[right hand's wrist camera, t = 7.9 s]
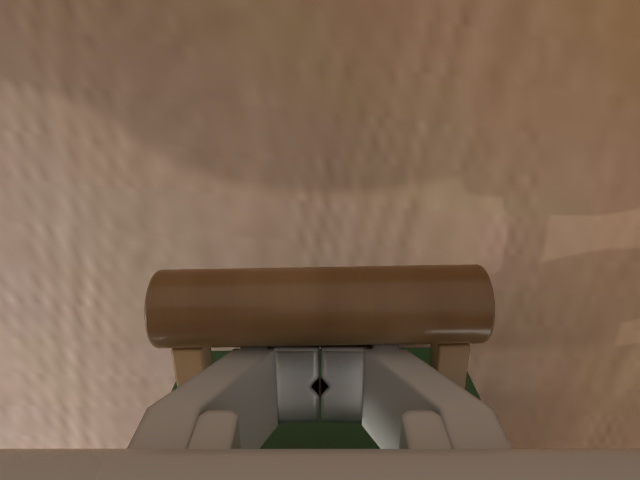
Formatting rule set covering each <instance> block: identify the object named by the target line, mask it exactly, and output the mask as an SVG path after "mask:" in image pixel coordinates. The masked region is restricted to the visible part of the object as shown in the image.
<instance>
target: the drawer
mask: <svg viewBox="0 0 640 480" xmlns="http://www.w3.org/2000/svg"><path fill="white" fill-rule="evenodd" d="M494 318H495V302H494V294H493V289H492V285H491V281H490V278H489V276H488V274H487V272H486V270H485V269H484V268H483V267H482V266H480V265H418V266H359V267H301V268H242V269H183V270H160V271H157V272H156V273H155V274H154V275H153V277H152V278H151V280H150V283H149V286H148V289H147V293H146V299H145V326H146V332H147V335H148V338H149V341H150V342H151V344H152V345H153V346H154V347H156V348H172V350H171V352H172V358H173V364H174V370H175V376H176V382H175V385H174V387H173V389H172V391H173V390H175V389H176V388H178V387H179V386H181V385H182V384H184V383H185V382H187V381H188V380H190V379H191V378H192V377H194V376H195V375H197V374H198V373H200V372H201V371H203V370H204V369H206V368H207V367H209V366H210V365H211V364H213V363H214V362H216V361H217V360H219V359H220V358H222V357H223V356H225V355H226V354H228V353H229V352H230V351H211V347H266V346H329V345H391V344H431V347H430V348H399V349H406V350H408V351H409V352H411V353H412V354H414V355H415V356H417V357H418V358H420V359H421V360H422V361H424V362H425V363H427V364H428V365H430V366H431V367H433V368H434V369H435V370H437V371H438V372H440V373H441V374H443V375H444V376H446V377H447V378H449V379H450V380H451V381H453V382H454V383H456V384H457V385H459V386H460V387H462V388H463V389H465V390H466V391H467V392H469V393H470V394H472V395H473V396H475V397H476V398H478V399H479V400H481V399H480V397H479V395H478V393H477V391H476V389H475V387H474V385H473V383H472V381H471V378H470V376H469V374H468V372H467V366H468V359H469V351H470V345H469V343H484V342H486V341H487V340H488V339H489V338H490V336H491V334H492V330H493V326H494ZM172 391H171V392H172ZM260 449H380V447H379V446H378V445H377V444H376V442H375V441H374V440H373V439H372V437H371V436H370V435H369V434H368V432H367V431H366V430H365V429H364V427H363V426H362V423H325V422H321V349H319V422H313V423H278V426H277V428H276V429H275V430H274V431H273V433H272V434H271V435H270V436H269V438H268V439H267V440H266V441H265V443H264V444H263V445H262V446H261V447H260Z"/></svg>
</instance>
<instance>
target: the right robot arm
mask: <svg viewBox="0 0 640 480" xmlns="http://www.w3.org/2000/svg"><path fill="white" fill-rule="evenodd" d="M313 422H319V346H266V347H241V348H240V349H233V350H232V351H230V352H229V353H228V354H226V355H225V356H223V357H222V358H220V359H219V360H217V361H216V362H214V363H213V364H211V365H210V366H209V367H207V368H206V369H204V370H203V371H201V372H200V373H198V374H197V375H195V376H194V377H192V378H191V379H190V380H188V381H187V382H185V383H184V384H182V385H181V386H179V387H178V388H176V389H175V390H173V391H172V392H171V393H169V394H168V395H166V396H165V397H163V398H162V399H160V400H159V401H157V402H156V403H154V404H153V405H152V406H150V407H149V408H147V410H146V412H145V414H144V416H143V418H142V420H141V422H140V424H139V426H138V428H137V430H136V432H135V434H134V436H133V438H132V440H131V442H130V444H129V446H128V448H127V449H0V480H640V449H513V448H512V446H511V444H510V442H509V440H508V438H507V436H506V434H505V432H504V430H503V428H502V426H501V424H500V422H499V420H498V418H497V416H496V414H495V412H494V410H493V409H492V408H491V407H489V406H488V405H486V404H485V403H483V402H482V401H481V400H479V399H478V398H476V397H475V396H473V395H472V394H470V393H469V392H467V391H466V390H465V389H463V388H462V387H460V386H459V385H457V384H456V383H454V382H453V381H451V380H450V379H449V378H447V377H446V376H444V375H443V374H441V373H440V372H438V371H437V370H435V369H434V368H433V367H431V366H430V365H428V364H427V363H425V362H424V361H422V360H421V359H420V358H418V357H417V356H415V355H414V354H412V353H411V352H409V351H408V350H406V349H399V346H398V344H391V345H329V346H321V422H325V423H362V426H363V427H364V429H365V430H366V431H367V432H368V434H369V435H370V436H371V437H372V439H373V440H374V441H375V442H376V444H377V445H378V446H379V447H380V449H260V447H261V446H262V445H263V444H264V443H265V441H266V440H267V439H268V438H269V436H270V435H271V434H272V433H273V431H274V430H275V429H276V428H277V426H278V423H313Z"/></svg>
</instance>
